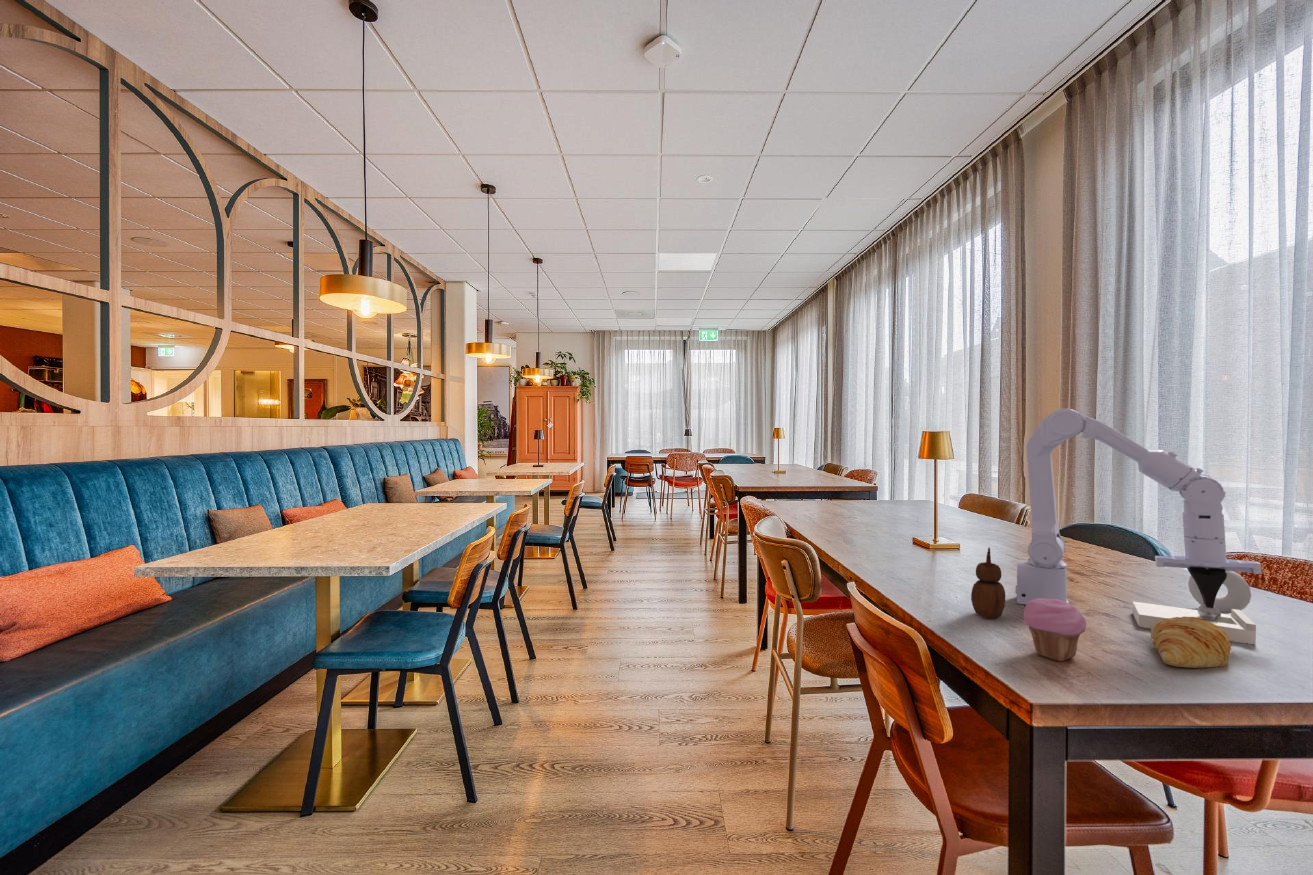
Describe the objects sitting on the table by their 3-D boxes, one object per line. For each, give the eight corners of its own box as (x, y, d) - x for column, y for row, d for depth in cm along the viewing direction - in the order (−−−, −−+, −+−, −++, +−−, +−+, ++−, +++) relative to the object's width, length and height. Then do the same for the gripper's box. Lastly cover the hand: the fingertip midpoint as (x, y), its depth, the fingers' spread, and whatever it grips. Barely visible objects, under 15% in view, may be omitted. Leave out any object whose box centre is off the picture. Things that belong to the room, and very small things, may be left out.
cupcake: (1068, 671, 89) (1069, 610, 89) (1012, 652, 97) (1013, 596, 96) (1095, 659, 93) (1096, 601, 93) (1039, 642, 101) (1040, 589, 101)
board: (1139, 626, 109) (1139, 608, 109) (1132, 612, 117) (1132, 595, 117) (1255, 644, 99) (1255, 624, 99) (1239, 628, 107) (1240, 609, 107)
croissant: (1193, 698, 87) (1226, 663, 84) (1122, 650, 94) (1151, 616, 91) (1228, 664, 99) (1258, 631, 95) (1163, 623, 106) (1189, 592, 103)
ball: (1227, 615, 104) (1213, 626, 105) (1223, 610, 106) (1209, 621, 107) (1208, 602, 105) (1194, 613, 106) (1205, 598, 108) (1191, 609, 109)
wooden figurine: (998, 623, 111) (998, 550, 110) (967, 616, 115) (967, 545, 115) (1009, 616, 115) (1009, 545, 115) (979, 609, 119) (979, 541, 119)
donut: (1254, 618, 113) (1255, 570, 113) (1245, 620, 112) (1245, 572, 111) (1193, 604, 122) (1193, 560, 122) (1184, 606, 121) (1184, 561, 121)
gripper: (1157, 537, 108) (1161, 606, 107) (1264, 542, 99) (1269, 617, 99) (1151, 532, 113) (1155, 597, 113) (1253, 536, 105) (1257, 607, 105)
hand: (1208, 606), depth 106 cm, fingers closed, pressing on ball
